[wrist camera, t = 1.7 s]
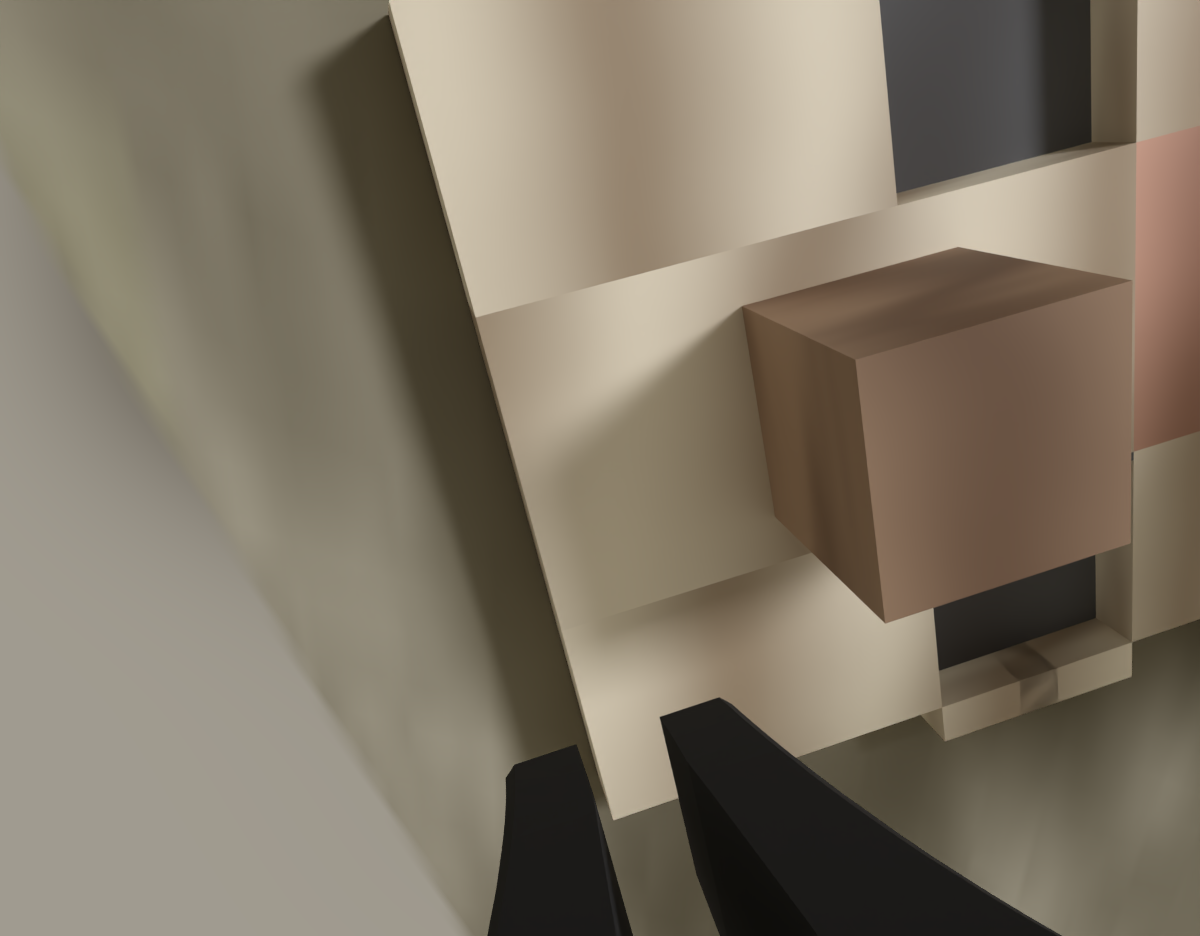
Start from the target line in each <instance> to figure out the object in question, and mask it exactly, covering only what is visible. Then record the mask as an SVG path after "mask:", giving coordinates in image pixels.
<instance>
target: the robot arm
mask: <svg viewBox="0 0 1200 936" xmlns="http://www.w3.org/2000/svg"><path fill="white" fill-rule="evenodd" d="M660 721H661V725H662V730H663V734H664V738H665V742H666V747H667V751H668V755H669V759H670V764H671V768H672V772H673V776H674V781H675V785H676V789H677V793H678V798H679V802H680V806H681V810H682V815H683V819H684V823H685V827H686V832H687V836H688V840H689V844H690V849H691V853H692V857H693V861H694V866H695V870H696V874H697V877H698V879H699V882H700V885H701V887H702V890H703V893H704V895H705V898H706V900H707V903H708V906H709V908H710V911H711V914H712V916H713V919H714V921H715V924H716V927H717V929H718V932H719V934H720V936H1061V935H1060V934H1058V933H1056V932H1054V931H1053V930H1051V929H1049V928H1047V927H1046V926H1044V925H1042V924H1041V923H1039V922H1037V921H1035V920H1034V919H1032V918H1030V917H1029V916H1027V915H1025V914H1023V913H1022V912H1020V911H1019V910H1017V909H1015V908H1014V907H1012V906H1010V905H1009V904H1007V903H1005V902H1004V901H1002V900H1000V899H999V898H997V897H995V896H994V895H992V894H990V893H989V892H987V891H986V890H984V889H983V888H981V887H979V886H978V885H976V884H975V883H973V882H972V881H970V880H968V879H967V878H965V877H964V876H962V875H961V874H959V873H957V872H956V871H954V870H953V869H951V868H950V867H948V866H946V865H945V864H943V863H942V862H940V861H939V860H937V859H935V858H934V857H932V856H931V855H929V854H928V853H926V852H925V851H924V850H922V849H921V848H919V847H918V846H916V845H915V844H913V843H912V842H910V841H909V840H907V839H906V838H904V837H903V836H901V835H900V834H898V833H897V832H896V831H894V830H893V829H891V828H890V827H889V826H887V825H886V824H884V823H883V822H882V821H880V820H879V819H877V818H876V817H875V816H873V815H872V814H870V813H869V812H868V811H866V810H865V809H863V808H862V807H861V806H859V805H858V804H856V803H855V802H854V801H852V800H851V799H849V798H848V797H847V796H845V795H844V794H842V793H841V792H840V791H838V790H837V789H836V788H834V787H833V786H832V785H830V784H829V783H828V782H826V781H825V780H824V779H822V778H821V777H820V776H818V775H817V774H816V773H815V772H813V771H812V770H811V769H810V768H808V767H807V766H806V765H804V764H803V763H802V762H801V761H799V760H798V759H797V758H796V757H794V756H793V755H792V754H790V753H789V752H788V751H787V750H785V749H784V748H783V747H782V746H781V745H779V744H778V743H777V742H776V741H774V740H773V739H772V738H771V737H770V736H768V735H767V734H766V733H765V732H764V731H762V730H761V729H760V728H759V727H758V726H757V725H755V724H754V723H753V722H752V721H751V720H750V719H748V718H747V717H746V716H745V715H744V714H743V713H742V712H740V711H739V710H738V709H737V708H736V707H735V706H734V705H733V704H731V703H729V702H727V701H726V700H724V699H722V698H720V697H718V698H715V699H712V700H709V701H706V702H703V703H700V704H697V705H694V706H691V707H688V708H685V709H682V710H679V711H676V712H673V713H670V714H667V715H664V716H661V717H660ZM488 936H633V934H632V931H631V927H630V924H629V920H628V916H627V913H626V909H625V906H624V902H623V899H622V895H621V892H620V888H619V884H618V881H617V877H616V874H615V870H614V867H613V863H612V860H611V856H610V852H609V849H608V845H607V842H606V838H605V835H604V831H603V828H602V824H601V820H600V817H599V813H598V810H597V806H596V803H595V799H594V796H593V792H592V789H591V786H590V783H589V780H588V777H587V774H586V771H585V768H584V765H583V763H582V760H581V757H580V754H579V751H578V748H577V745H573V746H570V747H567V748H564V749H561V750H558V751H555V752H552V753H549V754H546V755H543V756H540V757H537V758H534V759H531V760H528V761H525V762H522V763H519V764H515V765H514V766H513V768H512V769H511V771H510V773H509V774H508V776H507V777H506V811H505V826H504V836H503V845H502V853H501V860H500V867H499V874H498V881H497V888H496V894H495V899H494V904H493V909H492V915H491V920H490V925H489V931H488Z"/></svg>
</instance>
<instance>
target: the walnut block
mask: <svg viewBox="0 0 1200 936" xmlns="http://www.w3.org/2000/svg"><path fill="white" fill-rule="evenodd" d="M1132 285H1133V280H1128V279H1123V278H1117V277H1112V276H1107V275H1102V274H1097V273H1091V272H1086V271H1081V270H1076V269H1071V268H1065V267H1060V266H1055V265H1050V264H1044V263H1039V262H1034V261H1029V260H1024V259H1018V258H1013V257H1008V256H1003V255H998V254H992V253H987V252H982V251H977V250H972V249H966V248H961V247H956V248H952V249H948V250H945V251H941V252H937V253H934V254H930V255H926V256H923V257H919V258H916V259H912V260H908V261H905V262H901V263H897V264H894V265H890V266H886V267H883V268H879V269H875V270H872V271H868V272H864V273H861V274H857V275H853V276H850V277H846V278H842V279H839V280H835V281H831V282H828V283H824V284H821V285H817V286H813V287H810V288H806V289H802V290H799V291H795V292H791V293H788V294H784V295H780V296H777V297H773V298H769V299H766V300H762V301H758V302H755V303H751V304H747V305H744V306H742V311H743V318H744V324H745V330H746V337H747V343H748V349H749V355H750V362H751V368H752V374H753V380H754V387H755V393H756V399H757V406H758V412H759V418H760V424H761V431H762V437H763V443H764V450H765V456H766V462H767V468H768V475H769V481H770V487H771V494H772V500H773V506H774V512H775V517H776V518H777V519H778V520H779V521H780V522H781V523H782V524H783V525H784V526H785V527H786V528H787V529H788V530H789V531H790V532H791V533H792V534H793V535H794V536H795V537H796V538H797V539H798V540H799V541H800V542H801V543H803V544H804V545H805V546H806V547H807V548H808V549H809V550H810V551H811V552H812V553H813V554H814V555H815V556H816V557H817V558H818V559H819V560H820V561H821V562H822V563H823V564H824V565H825V566H826V567H827V568H828V569H829V570H830V571H831V572H832V573H833V574H835V575H836V576H837V577H838V578H839V579H840V580H841V581H842V582H843V583H844V584H845V585H846V586H847V587H848V588H849V589H850V590H851V591H852V592H853V593H854V594H855V595H856V596H857V597H858V598H859V599H860V600H861V601H862V602H863V603H864V604H865V605H867V606H868V607H869V608H870V609H871V610H872V611H873V612H874V613H875V614H876V615H877V616H878V617H879V618H880V619H881V620H882V621H883V622H884V623H885V624H886V623H889V622H892V621H895V620H898V619H901V618H904V617H907V616H910V615H913V614H916V613H919V612H922V611H925V610H929V609H932V608H935V607H938V606H941V605H944V604H947V603H950V602H953V601H956V600H959V599H962V598H965V597H968V596H971V595H974V594H977V593H980V592H983V591H987V590H990V589H993V588H996V587H999V586H1002V585H1005V584H1008V583H1011V582H1014V581H1017V580H1020V579H1023V578H1026V577H1029V576H1032V575H1035V574H1038V573H1041V572H1045V571H1048V570H1051V569H1054V568H1057V567H1060V566H1063V565H1066V564H1069V563H1072V562H1075V561H1078V560H1081V559H1084V558H1087V557H1090V556H1093V555H1096V554H1099V553H1103V552H1106V551H1109V550H1112V549H1115V548H1118V547H1121V546H1124V545H1127V544H1130V543H1131V417H1132Z"/></svg>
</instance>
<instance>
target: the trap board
mask: <svg viewBox="0 0 1200 936" xmlns="http://www.w3.org/2000/svg"><path fill="white" fill-rule="evenodd" d="M388 14H389V18H390V21H391V25H392V28H393V32H394V36H395V39H396V43H397V47H398V50H399V54H400V58H401V61H402V65H403V68H404V72H405V76H406V79H407V83H408V87H409V90H410V94H411V97H412V101H413V105H414V108H415V112H416V116H417V119H418V123H419V126H420V130H421V134H422V137H423V141H424V145H425V148H426V152H427V155H428V159H429V163H430V166H431V170H432V174H433V177H434V181H435V185H436V188H437V192H438V195H439V199H440V203H441V206H442V210H443V214H444V217H445V221H446V224H447V228H448V232H449V235H450V239H451V243H452V246H453V250H454V253H455V257H456V261H457V264H458V268H459V272H460V275H461V279H462V282H463V286H464V290H465V293H466V297H467V301H468V304H469V308H470V311H471V315H472V319H473V322H474V326H475V330H476V333H477V337H478V341H479V344H480V348H481V351H482V355H483V359H484V362H485V366H486V370H487V373H488V377H489V380H490V384H491V388H492V391H493V395H494V399H495V402H496V406H497V409H498V413H499V417H500V420H501V424H502V428H503V431H504V435H505V438H506V442H507V446H508V449H509V453H510V457H511V460H512V464H513V468H514V471H515V475H516V478H517V482H518V486H519V489H520V493H521V497H522V500H523V504H524V507H525V511H526V515H527V518H528V522H529V526H530V529H531V533H532V536H533V540H534V544H535V547H536V551H537V555H538V558H539V562H540V565H541V569H542V573H543V576H544V580H545V584H546V587H547V591H548V594H549V598H550V602H551V605H552V609H553V613H554V616H555V620H556V624H557V627H558V631H559V634H560V638H561V642H562V645H563V649H564V653H565V656H566V660H567V663H568V667H569V671H570V674H571V678H572V682H573V685H574V689H575V692H576V696H577V700H578V703H579V707H580V711H581V714H582V718H583V721H584V725H585V729H586V732H587V736H588V740H589V743H590V747H591V751H592V754H593V758H594V761H595V765H596V769H597V772H598V776H599V779H600V782H601V785H602V788H603V791H604V794H605V797H606V800H607V803H608V806H609V809H610V812H611V815H612V817H613V820H616V819H619V818H622V817H625V816H628V815H630V814H633V813H636V812H639V811H642V810H645V809H648V808H651V807H654V806H657V805H660V804H662V803H665V802H668V801H671V800H674V799H677V798H678V793H677V789H676V785H675V781H674V776H673V772H672V768H671V764H670V759H669V755H668V751H667V747H666V742H665V738H664V734H663V730H662V725H661V721H660V717H661V716H664V715H667V714H670V713H673V712H676V711H679V710H682V709H685V708H688V707H691V706H694V705H697V704H700V703H703V702H706V701H709V700H712V699H715V698H718V697H720V698H722V699H724V700H726V701H727V702H729V703H731V704H733V705H734V706H735V707H736V708H737V709H738V710H739V711H740V712H742V713H743V714H744V715H745V716H746V717H747V718H748V719H750V720H751V721H752V722H753V723H754V724H755V725H757V726H758V727H759V728H760V729H761V730H762V731H764V732H765V733H766V734H767V735H768V736H770V737H771V738H772V739H773V740H774V741H776V742H777V743H778V744H779V745H781V746H782V747H783V748H784V749H785V750H787V751H788V752H789V753H790V754H792V755H793V756H794V757H796V758H797V757H799V756H802V755H805V754H808V753H811V752H814V751H817V750H820V749H823V748H826V747H829V746H831V745H834V744H837V743H840V742H843V741H846V740H849V739H852V738H855V737H858V736H861V735H864V734H866V733H869V732H872V731H875V730H878V729H881V728H884V727H887V726H890V725H893V724H896V723H898V722H901V721H904V720H907V719H910V718H913V717H916V716H919V715H921V716H922V717H923V718H924V719H925V720H926V722H927V723H928V724H929V725H930V726H931V727H932V728H933V729H934V730H935V731H936V732H937V733H938V734H939V736H940V737H941V738H942V739H943V740H944V741H948V740H951V739H954V738H957V737H960V736H963V735H965V734H968V733H971V732H974V731H977V730H980V729H983V728H986V727H988V726H991V725H994V724H997V723H1000V722H1003V721H1006V720H1009V719H1011V718H1014V717H1017V716H1020V715H1023V714H1026V713H1029V712H1031V711H1034V710H1037V709H1040V708H1043V707H1046V706H1049V705H1052V704H1054V703H1057V702H1060V701H1063V700H1066V699H1069V698H1072V697H1075V696H1077V695H1080V694H1083V693H1086V692H1089V691H1092V690H1095V689H1097V688H1100V687H1103V686H1106V685H1109V684H1112V683H1115V682H1118V681H1120V680H1123V679H1126V678H1129V677H1132V642H1135V641H1137V640H1140V639H1143V638H1146V637H1149V636H1152V635H1155V634H1158V633H1161V632H1164V631H1167V630H1169V629H1172V628H1175V627H1178V626H1181V625H1184V624H1187V623H1190V622H1193V621H1196V620H1199V619H1200V0H390V1H389V8H388ZM956 247H961V248H966V249H972V250H977V251H982V252H987V253H992V254H998V255H1003V256H1008V257H1013V258H1018V259H1024V260H1029V261H1034V262H1039V263H1044V264H1050V265H1055V266H1060V267H1065V268H1071V269H1076V270H1081V271H1086V272H1091V273H1097V274H1102V275H1107V276H1112V277H1117V278H1123V279H1128V280H1133V285H1132V417H1131V543H1130V544H1127V545H1124V546H1121V547H1118V548H1115V549H1112V550H1109V551H1106V552H1103V553H1099V554H1096V555H1093V556H1090V557H1087V558H1084V559H1081V560H1078V561H1075V562H1072V563H1069V564H1066V565H1063V566H1060V567H1057V568H1054V569H1051V570H1048V571H1045V572H1041V573H1038V574H1035V575H1032V576H1029V577H1026V578H1023V579H1020V580H1017V581H1014V582H1011V583H1008V584H1005V585H1002V586H999V587H996V588H993V589H990V590H987V591H983V592H980V593H977V594H974V595H971V596H968V597H965V598H962V599H959V600H956V601H953V602H950V603H947V604H944V605H941V606H938V607H935V608H932V609H929V610H925V611H922V612H919V613H916V614H913V615H910V616H907V617H904V618H901V619H898V620H895V621H892V622H889V623H886V624H885V623H884V622H883V621H882V620H881V619H880V618H879V617H878V616H877V615H876V614H875V613H874V612H873V611H872V610H871V609H870V608H869V607H868V606H867V605H865V604H864V603H863V602H862V601H861V600H860V599H859V598H858V597H857V596H856V595H855V594H854V593H853V592H852V591H851V590H850V589H849V588H848V587H847V586H846V585H845V584H844V583H843V582H842V581H841V580H840V579H839V578H838V577H837V576H836V575H835V574H833V573H832V572H831V571H830V570H829V569H828V568H827V567H826V566H825V565H824V564H823V563H822V562H821V561H820V560H819V559H818V558H817V557H816V556H815V555H814V554H813V553H812V552H811V551H810V550H809V549H808V548H807V547H806V546H805V545H804V544H803V543H801V542H800V541H799V540H798V539H797V538H796V537H795V536H794V535H793V534H792V533H791V532H790V531H789V530H788V529H787V528H786V527H785V526H784V525H783V524H782V523H781V522H780V521H779V520H778V519H777V518H776V517H775V512H774V506H773V500H772V494H771V487H770V481H769V475H768V468H767V462H766V456H765V450H764V443H763V437H762V431H761V424H760V418H759V412H758V406H757V399H756V393H755V387H754V380H753V374H752V368H751V362H750V355H749V349H748V343H747V337H746V330H745V324H744V318H743V311H742V306H744V305H747V304H751V303H755V302H758V301H762V300H766V299H769V298H773V297H777V296H780V295H784V294H788V293H791V292H795V291H799V290H802V289H806V288H810V287H813V286H817V285H821V284H824V283H828V282H831V281H835V280H839V279H842V278H846V277H850V276H853V275H857V274H861V273H864V272H868V271H872V270H875V269H879V268H883V267H886V266H890V265H894V264H897V263H901V262H905V261H908V260H912V259H916V258H919V257H923V256H926V255H930V254H934V253H937V252H941V251H945V250H948V249H952V248H956Z"/></svg>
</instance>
